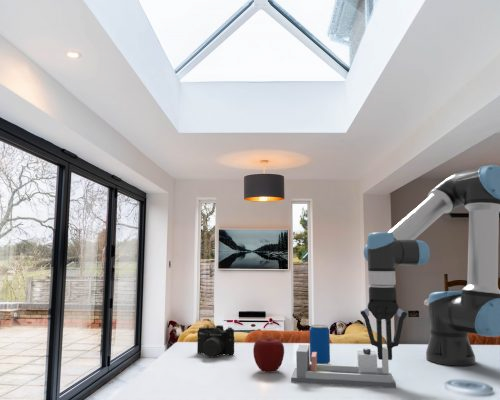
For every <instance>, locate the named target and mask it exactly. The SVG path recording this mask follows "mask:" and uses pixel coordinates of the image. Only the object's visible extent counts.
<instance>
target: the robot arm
mask: <svg viewBox="0 0 500 400" xmlns="http://www.w3.org/2000/svg"><path fill="white" fill-rule="evenodd" d="M462 206H464V208H465V210H467V211H468V212H469V213H468V239H467V240H468V242H467V243H468V244H467V247H468V248H467V277H466V278H467V279H466V281H467V283H466V285H465V286H463V288H462V289H461V290H450V291H446V290H445V291H435V292H434V291H433V292H431V293H430V294H428V295H429V296H428V312H429V313H428V314H429V329H430V336H429V341H428V344H427V346H426V347H427V348H426V351H425V357H426V360H427V361H428V362H431V363H434V364H439V365H445V366H453V367H454V366H458V367H459V366H462V367H464V366H465V367H466V366H473V365H475V364H476V355H475V353H474V350H473V348H472V347H473V346H472V344H471V343H470V340H469V334H472V335H473V334H474V335H478V336H481V337H490V338H498V337H500V289H499V285H498V283H499V235H500V234H499V230H500V229H499V227H500V226H499V225H500V222H499V221H500V220H499V217H500V216H499V215H500V165H497V164H491V165H490V164H489V165H482V166H480V167H476V168H471V169H467V170H463V171H462V170H461V171H458V172H455V173H453V174H452V175H450V176H448V177H446V178H445V179H444V180H443V181H441V182H440V183H438V184H437V185H436V186H434V188H432V189H431V190H430V191H429V192H428V194H427V197H426V199H424V200H423V201H422V202H421V203H420V204H418V205H417V207H415V208H414V209H413V210H411V211H410V212H409V213H408V214H407V215H406V216H405V217H403V218H402V219H401V220H400V221H399V222H397V224H395V225H394V226H393V227H392V228H391V229H389V230H388V231H387V232H385V231H384V232H383V231H379V232H370V233H368V235H367V239H366V245H365V246H364V248H363V256H364V259H365V260H366V262H367V269H368V270H367V273H368V276H367V277H368V285H369V287H368V303H367V307H366V308H364V309H362V310H360V315H361V316H362V318H363V320H364V322H365V326H366V331H367V334H368V338H369V341H370V344H371V345H372V346H374V347H376V348H377V359H378V360H381V367H382V371H383V373H390V372H389V361H392V360H393V348H394V347H399V345H400V340H401V339H400V338H401V333H402V329H403V325H404V321H405V319H406V318H407V315H408V313H407V312H406V311H405V310H403V309H402V308H400V307H399V305H398V302H397V289H396V287H395V286H396V285H397V283H396V282H397V281H396V266H422V265H425V264H426V263H428V262H429V259H430V256H431V252H430V250H431V249H430V247H429V245H428V243H426V242H425V241H423V240H421V239H420V240H419V239H417V238H418V237H419V236H420V235H421V234H423V233H424V231H426V230H427V229H428V228H429V227H431V225H433V223H435V222H436V221H437V220H438V219H439V218H440V217H441V216H443V215H444V214H449V213H451V212H452V211H453V210H454V209H456V208H458V207H462ZM369 312H370V313H371V314H372V316H373V317H374V318H375V320H376V323H375V324H376V340H375V336H374V332H373V330H372V329H373V328H372V325H371V322H370V319H369V316H370V313H369ZM396 314H397V320H396V327H395V331H394V335H393V340H392V319H393V317H394V316H395V315H396ZM382 320H384V321H385V336H386V337H385V339H386V346H383V332H382V331H383V330H382V329H383V328H382V326H383V325H382Z"/></svg>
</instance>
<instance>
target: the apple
mask: <svg viewBox="0 0 500 400" xmlns="http://www.w3.org/2000/svg"><path fill="white" fill-rule="evenodd" d="M252 351H253V358H254V362H255V364H256V366H257V367H258V369H259V370H260V371H261V372H263V373H275V372H276V371H278V369H280V367H281V365H282V364H283V361H284V357H285V346H284V344H283V342H282V341H281V340H280V339H277V338H273V337H259V338H258V339H257V340H255V342H254V344H253V349H252Z"/></svg>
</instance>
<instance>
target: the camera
mask: <svg viewBox="0 0 500 400" xmlns="http://www.w3.org/2000/svg"><path fill="white" fill-rule="evenodd" d="M234 330H235V329H234V328H232V327H230V326H229V327H227V328H226V330H224V325H223V324H222V325H221V324H220V325H219V324H218V325H215V327H209V325H206V327H199V328H198V330H197V333H196V334H197V345H196V346H197V348H196V349H197V354H201V353H204V354H203V355H205V356H206V357H208V358H215V357H218V356H217V355H219V356H231V355H232V356H234V355H235V331H234ZM223 354H225V355H223ZM233 354H234V355H233Z"/></svg>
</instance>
